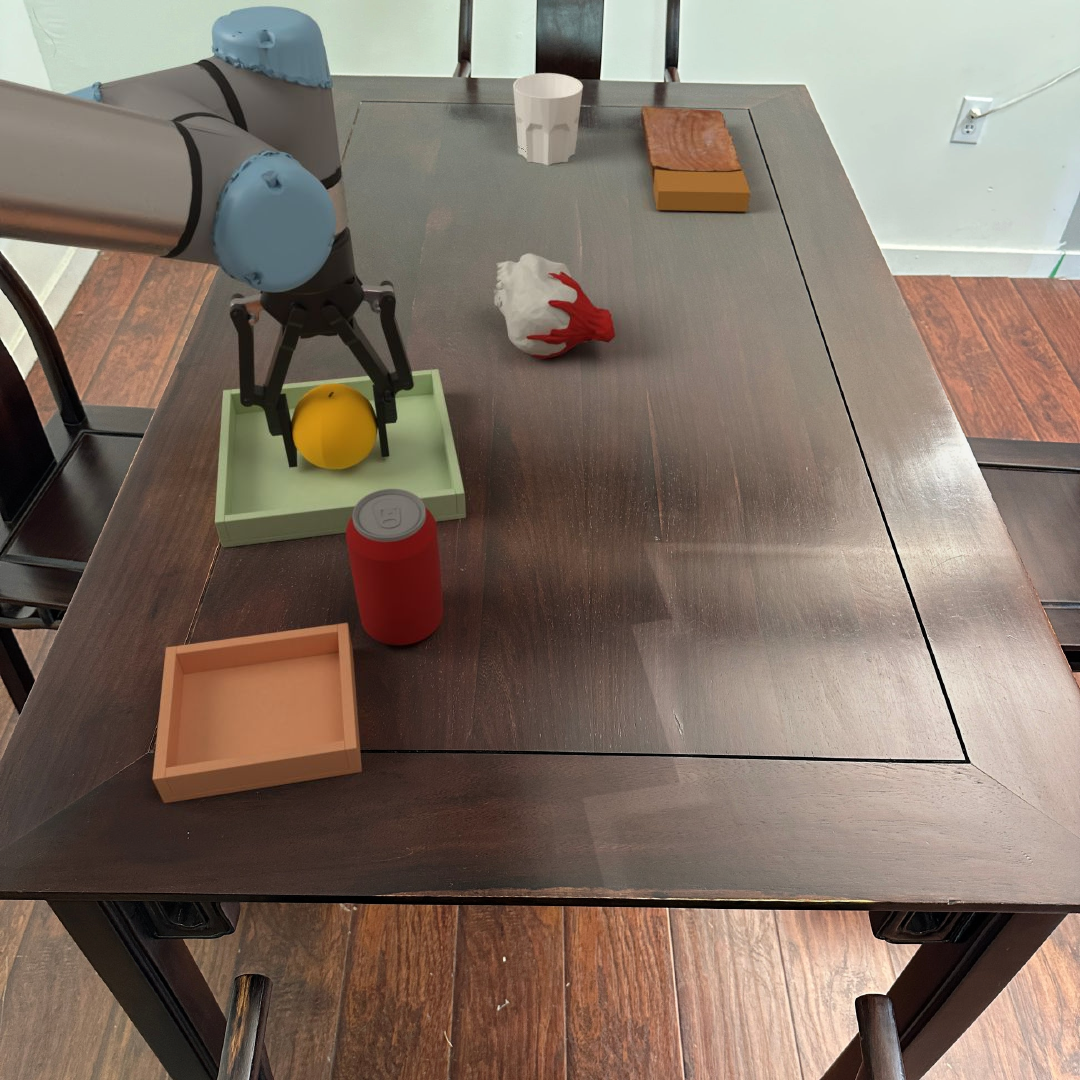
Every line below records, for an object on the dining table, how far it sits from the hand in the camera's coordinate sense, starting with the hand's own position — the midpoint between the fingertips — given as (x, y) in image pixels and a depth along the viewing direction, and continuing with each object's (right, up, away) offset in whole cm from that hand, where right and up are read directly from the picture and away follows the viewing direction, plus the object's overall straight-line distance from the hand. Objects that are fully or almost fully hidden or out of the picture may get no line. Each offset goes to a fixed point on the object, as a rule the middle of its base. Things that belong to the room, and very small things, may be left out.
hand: (339, 452), depth 92 cm
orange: (0, 0, 0) cm, 0 cm away
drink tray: (-1, -22, -20) cm, 30 cm away
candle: (+20, +14, +17) cm, 29 cm away
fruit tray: (0, -1, +1) cm, 1 cm away
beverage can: (+8, -15, -13) cm, 21 cm away
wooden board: (+41, +47, +51) cm, 81 cm away
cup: (+20, +50, +54) cm, 76 cm away
